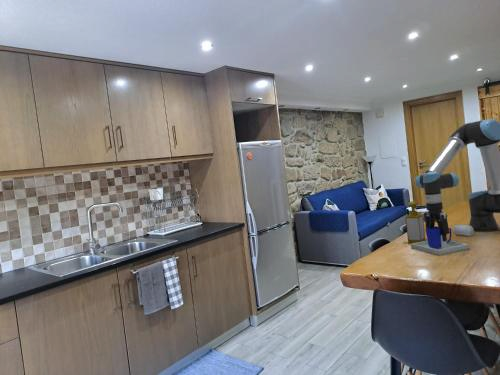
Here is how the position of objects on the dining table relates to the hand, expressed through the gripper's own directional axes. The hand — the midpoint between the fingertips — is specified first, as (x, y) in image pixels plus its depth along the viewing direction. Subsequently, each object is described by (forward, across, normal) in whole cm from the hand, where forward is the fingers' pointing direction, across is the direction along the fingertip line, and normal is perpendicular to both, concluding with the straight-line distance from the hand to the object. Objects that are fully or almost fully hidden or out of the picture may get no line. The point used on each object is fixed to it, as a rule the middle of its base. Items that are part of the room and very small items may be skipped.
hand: (438, 246), depth 188 cm
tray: (+2, 0, 0) cm, 2 cm away
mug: (0, +1, 0) cm, 1 cm away
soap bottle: (+2, -21, +4) cm, 21 cm away
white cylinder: (-1, -12, +31) cm, 33 cm away
